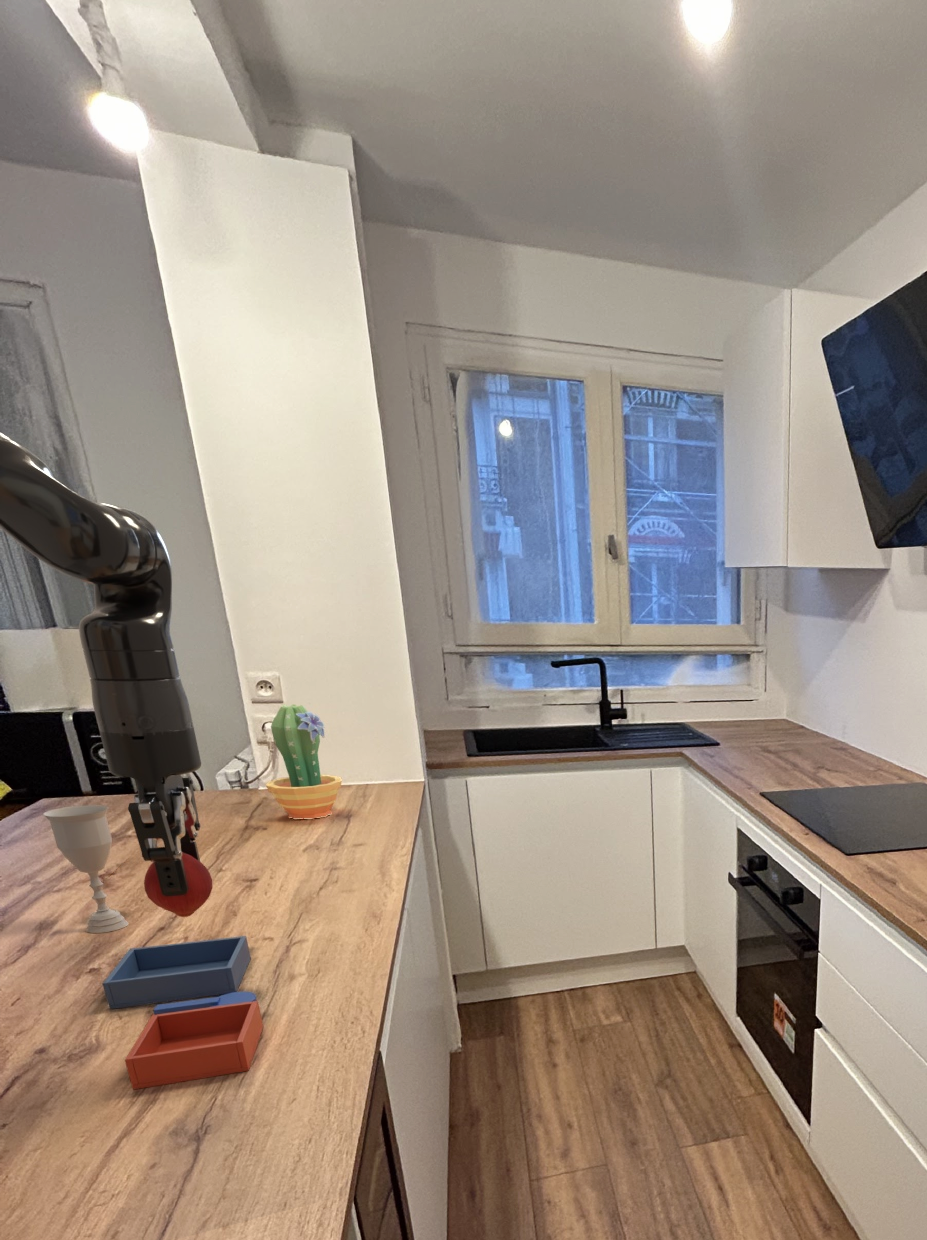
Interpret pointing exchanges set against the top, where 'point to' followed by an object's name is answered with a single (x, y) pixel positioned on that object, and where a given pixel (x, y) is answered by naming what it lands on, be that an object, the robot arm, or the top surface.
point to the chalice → (87, 854)
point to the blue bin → (177, 972)
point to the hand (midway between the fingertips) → (183, 884)
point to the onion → (192, 899)
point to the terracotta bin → (195, 1044)
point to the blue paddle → (206, 1002)
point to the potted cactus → (301, 765)
